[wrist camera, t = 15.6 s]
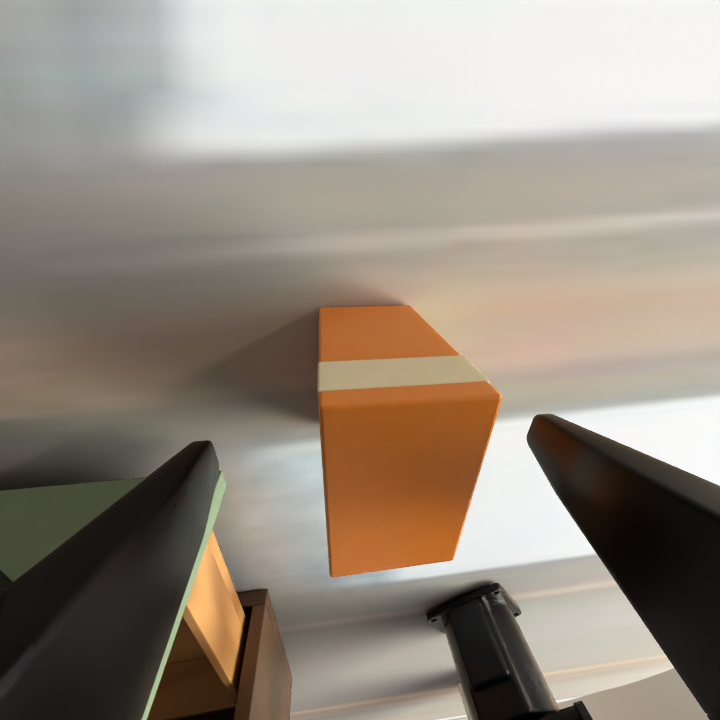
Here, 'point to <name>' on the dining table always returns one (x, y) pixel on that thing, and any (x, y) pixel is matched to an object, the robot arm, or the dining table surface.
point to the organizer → (260, 667)
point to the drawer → (197, 610)
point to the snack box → (396, 438)
